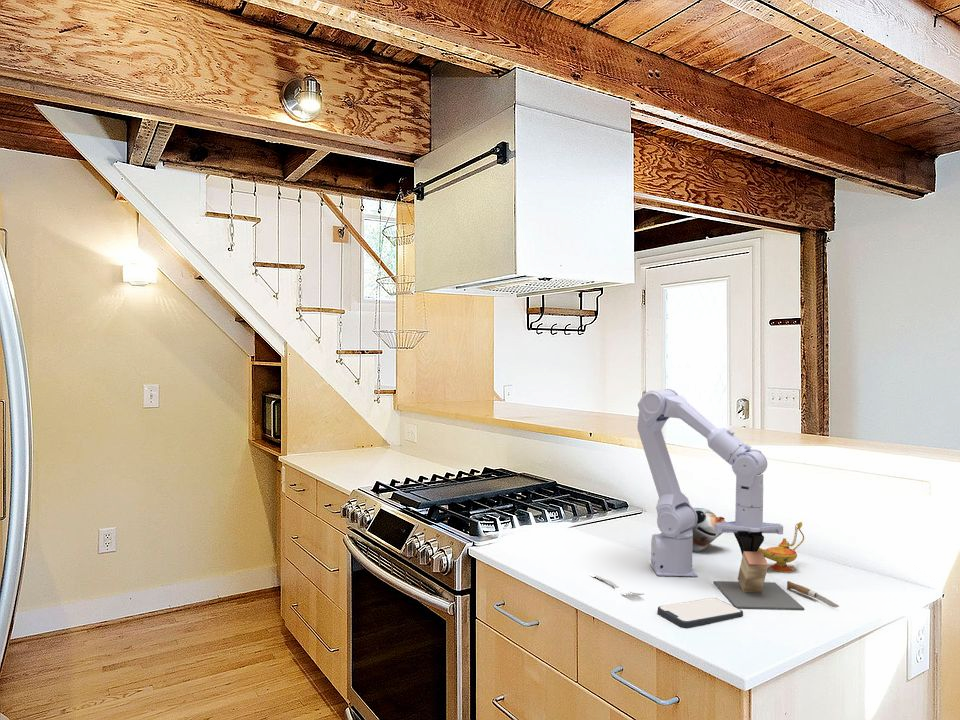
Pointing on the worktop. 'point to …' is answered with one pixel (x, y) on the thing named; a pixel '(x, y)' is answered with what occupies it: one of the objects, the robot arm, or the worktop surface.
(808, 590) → the folding knife
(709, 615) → the phone case
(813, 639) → the worktop surface
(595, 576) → the fork
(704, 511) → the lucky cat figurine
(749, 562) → the maple block
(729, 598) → the rubber mat
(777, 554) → the magic lamp
